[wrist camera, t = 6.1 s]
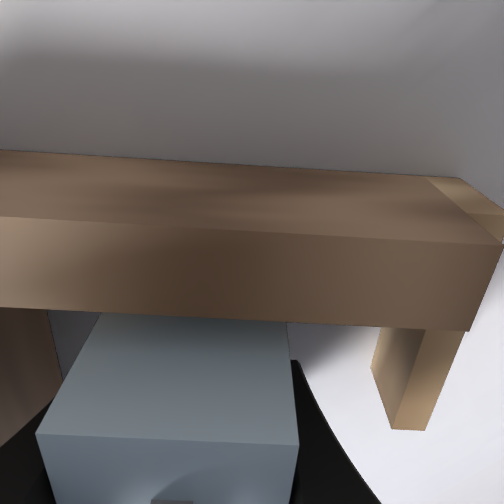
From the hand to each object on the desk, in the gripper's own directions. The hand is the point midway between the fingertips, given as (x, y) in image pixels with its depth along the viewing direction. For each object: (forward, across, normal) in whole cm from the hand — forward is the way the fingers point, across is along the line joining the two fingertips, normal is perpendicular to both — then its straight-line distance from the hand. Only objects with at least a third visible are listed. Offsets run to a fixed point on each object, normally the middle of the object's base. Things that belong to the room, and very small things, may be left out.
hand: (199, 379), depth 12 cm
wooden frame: (+2, 0, +3) cm, 4 cm away
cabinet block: (+2, 0, 0) cm, 2 cm away
